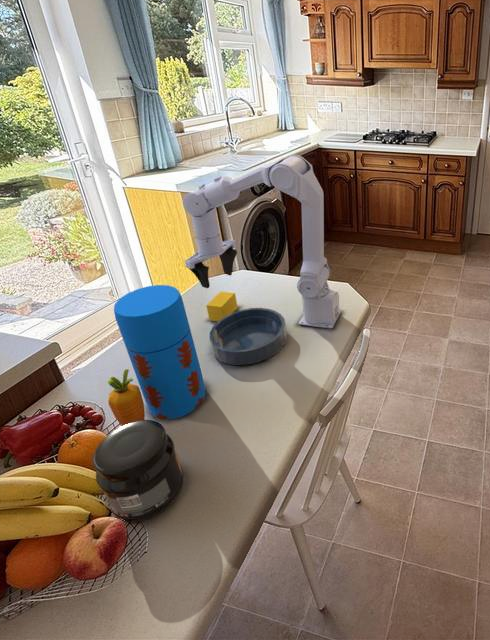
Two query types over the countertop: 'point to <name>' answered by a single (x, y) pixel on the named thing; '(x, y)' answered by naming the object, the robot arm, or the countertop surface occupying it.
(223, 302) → the sponge
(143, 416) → the carrot
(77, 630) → the countertop surface
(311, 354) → the countertop surface
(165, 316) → the thermos
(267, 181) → the robot arm
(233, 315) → the bowl
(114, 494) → the supplement container
